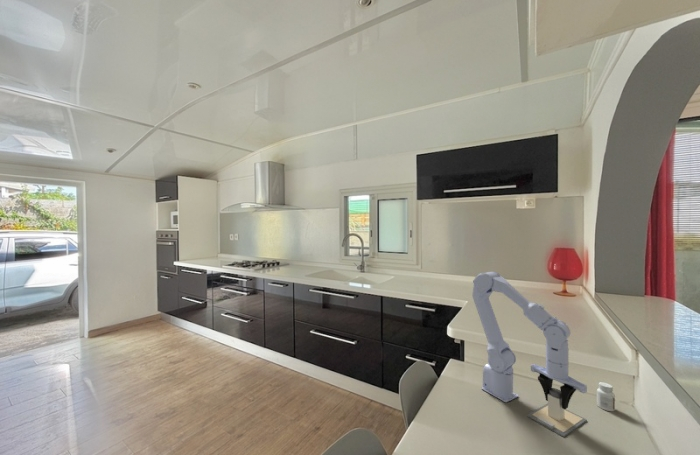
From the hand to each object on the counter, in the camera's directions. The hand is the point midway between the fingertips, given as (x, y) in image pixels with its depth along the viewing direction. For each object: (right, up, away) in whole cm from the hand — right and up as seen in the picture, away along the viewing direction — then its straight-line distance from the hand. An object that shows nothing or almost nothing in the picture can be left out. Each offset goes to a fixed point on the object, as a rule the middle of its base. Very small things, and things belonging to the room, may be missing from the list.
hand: (556, 403), depth 85 cm
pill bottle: (+22, -6, +6) cm, 23 cm away
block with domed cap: (0, -4, 0) cm, 4 cm away
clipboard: (0, -5, 0) cm, 5 cm away
